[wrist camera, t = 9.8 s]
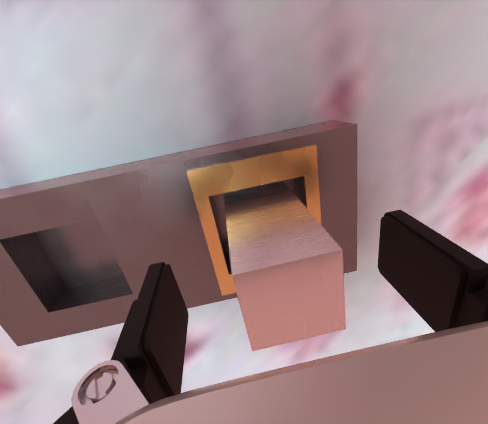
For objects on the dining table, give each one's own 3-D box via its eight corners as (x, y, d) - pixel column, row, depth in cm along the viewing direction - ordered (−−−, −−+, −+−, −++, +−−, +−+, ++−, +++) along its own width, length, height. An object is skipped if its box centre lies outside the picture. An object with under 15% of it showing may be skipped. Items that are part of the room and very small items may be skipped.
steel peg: (223, 191, 17) (231, 275, 9) (281, 178, 17) (342, 249, 9) (235, 241, 19) (252, 351, 11) (288, 229, 19) (345, 328, 11)
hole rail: (-37, 197, 16) (-92, 218, 13) (333, 120, 17) (358, 124, 14) (44, 313, 20) (15, 348, 17) (337, 248, 21) (358, 272, 18)
